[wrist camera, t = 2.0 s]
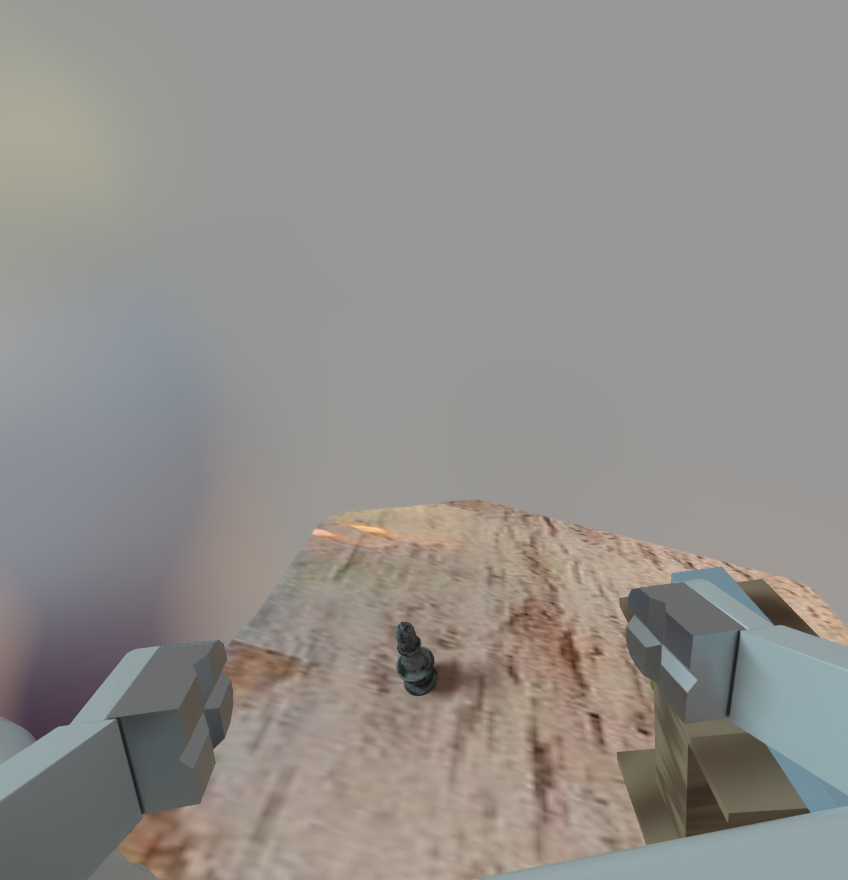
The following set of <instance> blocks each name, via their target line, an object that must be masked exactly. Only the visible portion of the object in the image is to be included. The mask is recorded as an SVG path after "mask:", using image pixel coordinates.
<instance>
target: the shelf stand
mask: <svg viewBox="0 0 848 880" xmlns="http://www.w3.org/2000/svg"><path fill="white" fill-rule="evenodd" d="M736 583H737V584H738V585H739V586H740V587H741V589H742V590H743V591H744V592H745V593H746V594H747V595H748V596H749V598H750V599H751V600H752V601H753V602H754V603H755V604H756V605H757V607H758V608H759V609H760V610H761V611H762V612H763V613H764V614H765V615H766V617H767V618H768V619H769V620H770V621H771V622H772V623H773V624H774V626H778V625H783V626H786V627H789V628H792V629H795V630H798V631H801V632H804V633H807V634H810V635H813V636H816V637H819V636H818V635H817V634H816V633H815V632H814V631H813V630H812V629H811V628H810V627H809V626H808V625H807V624H806V623H805V622H804V621H803V620H802V619H801V618H800V617H799V616H798V615H797V614H796V613H795V612H794V611H793V610H792V608H791V607H790V606H789V605H788V604H787V603H786V602H785V601H784V600H783V599H782V598H781V597H780V596H779V595H778V594H777V593H776V592H775V591H774V590H773V589H772V588H771V587H770V586H769V585H768V584H767V583H766V582H765V581H764V580H763V579H759V580H751V581H744V582H736ZM619 601H620V608H621V610H622V612H623V614H624V616H625V618H626V620H627V622H628V623H629V622H630V620H631V619H632V617H633V616H634V615H633V613H632V612H631V611H630V610H629V608H628V597H623V598H619ZM819 638H820V637H819ZM654 710H655V749H649V750H637V751H625V752H617V760H618V763H619V766H620V769H621V772H622V775H623V778H624V781H625V784H626V787H627V789H628V792H629V795H630V798H631V801H632V804H633V807H634V810H635V813H636V816H637V819H638V822H639V825H640V828H641V831H642V833H643V836H644V839H645V842H646V845H649V844H655V843H660V842H665V841H670V840H675V839H680V838H685V837H690V836H695V835H701V834H706V833H711V832H716V831H721V830H726V829H731V828H736V827H741V826H746V825H752V824H757V823H762V822H767V821H772V820H777V819H782V818H787V817H792V816H798V815H803V814H808V813H811V812H810V811H809V809H808V808H807V806H806V805H805V803H804V802H803V800H802V799H801V797H800V796H799V794H798V793H797V791H796V790H795V788H794V787H793V785H792V783H791V782H790V780H789V779H788V777H787V776H786V774H785V773H784V771H783V770H782V768H781V767H780V765H779V764H778V762H777V761H776V759H775V758H774V756H773V755H772V753H771V751H770V750H769V748H768V747H767V745H766V744H765V743H763V742H762V741H760V740H758V739H757V738H755V737H754V736H752V735H751V734H749V733H747V732H746V731H744V730H743V729H741V728H739V727H738V726H736V725H735V724H733V723H731V722H730V721H729V718H727V719H719V720H712V721H704V722H696V723H689V724H684V723H683V722H682V721H681V720H680V718H679V717H678V716H677V715H676V714H675V712H674V711H673V710H672V709H671V708H670V706H669V705H668V704H667V703H666V702H665V700H664V699H663V698H662V697H661V696H660V695H659V683H657V682H655V681H654Z"/></svg>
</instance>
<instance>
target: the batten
mask: <svg viewBox="0 0 848 880" xmlns="http://www.w3.org/2000/svg"><path fill="white" fill-rule="evenodd" d="M699 578H700V579H704V580H708V581H710V582H711V583H713V584H714V585H715V586H717V587H718V588H720V589H721V590H723V591H724V592H726V593H727V594H729V595H730V596H731V597H733V598H734V599H736V600H737V601H739V602H740V603H742V604H743V605H744V606H746V607H747V608H749V609H750V610H752V611H753V612H755V613H756V614H758V615H759V616H760V617H762V618H763V619H765V620H766V621H768V622H769V623H771V624H772V625H774V624H773V623H772V622H771V621H770V620H769V619H768V618H767V617H766V615H765V614H764V613H763V612H762V611H761V610H760V609H759V608H758V607H757V605H756V604H755V603H754V602H753V601H752V600H751V599H750V598H749V596H748V595H747V594H746V593H745V592H744V591H743V590H742V589H741V587H740V586H739V585H738V584H737V583H736V582H735V581H734V580H733V578H732V577H731V576H730V575H729V574H728V573H727V572H726V571H725V569H724V568H723V567H715V568H708V569H701V570H693V571H686V572H679V573H672V574H671V584H672V583H677V582H680V581H687V580H693V579H699ZM767 747H768V748H769V750H770V751H771V753H772V755H773V756H774V758H775V759H776V761H777V762H778V764H779V765H780V767H781V768H782V770H783V771H784V773H785V774H786V776H787V777H788V779H789V780H790V782H791V783H792V785H793V787H794V788H795V790H796V791H797V793H798V794H799V796H800V797H801V799H802V800H803V802H804V803H805V805H806V806H807V808H808V809H809V811H810V812H811V813H813V812H818V811H823V810H828V809H833V808H838V807H844V806H848V796H847V795H846V794H844V793H843V792H841V791H840V790H838V789H836V788H835V787H833V786H832V785H830V784H828V783H827V782H825V781H824V780H822V779H820V778H819V777H817V776H816V775H814V774H812V773H811V772H809V771H808V770H806V769H805V768H803V767H801V766H800V765H798V764H797V763H795V762H793V761H792V760H790V759H789V758H787V757H785V756H784V755H782V754H781V753H779V752H778V751H776V750H774V749H773V748H771V747H770V746H768V745H767Z"/></svg>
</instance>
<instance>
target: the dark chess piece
mask: <svg viewBox="0 0 848 880" xmlns="http://www.w3.org/2000/svg"><path fill="white" fill-rule="evenodd" d="M395 636H396V639H397V642H398V647H397V649H398V652H399V654H401V656H400V657H399V659H398V661H397V665H396V669H397V673H398V675H399V677H400V678H402V679H403V680H404V687H405V689H406V691H407V692H408V693H410V694H412V695H415V696H420V695H424V694H427V693H428V692H430V691H431V690H432V689H433V688H434V686H435V684H436V682H437V672H436V670H435V668H434V667H433V666H434V656H433V654H432V652H431V651H430V650H429V649H427V648H425V647H420V646H421V640H420V638H419V637H418V636H416V633H415V630H414V627H413V626H412V624H410V623H408V622H401V623H400V624H399V625H398V626H397V628H396V630H395Z"/></svg>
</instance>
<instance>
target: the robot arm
mask: <svg viewBox="0 0 848 880" xmlns="http://www.w3.org/2000/svg"><path fill="white" fill-rule="evenodd" d="M628 608H629V610H630V611H631V612H632V613H633V615H634V616H633V617H632V619H631V620H630V622H629V623H628V624H627V626H626V642H627V646H628V649H629V653H630V656H631V658H632V659H633V661H634V663H635V665H636V666H637V668H638V669H639V670H640V671H641V673H642V674H643V675H644V676H646V677H647V678H649V679H651V680H653V681H655V682H657V683H659V695H660V696H661V697H662V698H663V699H664V700H665V702H666V703H667V704H668V705H669V706H670V708H671V709H672V710H673V711H674V712H675V714H676V715H677V716H678V717H679V718H680V720H681V721H682V722H683V723H684V724H689V723H696V722H704V721H712V720H719V719H727V718H729V721H730V722H731V723H733V724H735V725H736V726H738V727H739V728H741V729H743V730H744V731H746V732H747V733H749V734H751V735H752V736H754V737H755V738H757V739H758V740H760V741H762V742H763V743H765V744H766V745H768V746H770V747H771V748H773V749H774V750H776V751H778V752H779V753H781V754H782V755H784V756H785V757H787V758H789V759H790V760H792V761H793V762H795V763H797V764H798V765H800V766H801V767H803V768H805V769H806V770H808V771H809V772H811V773H812V774H814V775H816V776H817V777H819V778H820V779H822V780H824V781H825V782H827V783H828V784H830V785H832V786H833V787H835V788H836V789H838V790H840V791H841V792H843V793H844V794H846V795H847V796H848V647H846V646H843V645H840V644H837V643H834V642H831V641H828V640H825V639H822V638H819V637H816V636H813V635H810V634H807V633H804V632H801V631H798V630H795V629H792V628H789V627H786V626H783V625H778V626H774V625H772V624H771V623H769V622H768V621H766V620H765V619H763V618H762V617H760V616H759V615H758V614H756V613H755V612H753V611H752V610H750V609H749V608H747V607H746V606H744V605H743V604H742V603H740V602H739V601H737V600H736V599H734V598H733V597H731V596H730V595H729V594H727V593H726V592H724V591H723V590H721V589H720V588H718V587H717V586H715V585H714V584H713V583H711V582H710V581H708V580H704V579H700V578H699V579H693V580H687V581H680V582H677V583H672V584H664V585H657V586H650V587H642V588H635V589H632V590H631V592H630V594H629V596H628ZM226 661H227V656H226V651H225V647H224V644H223V643H222V642H221V641H220V640H214V641H205V642H194V643H185V644H175V645H165V646H157V647H149V648H141V649H135V650H133V651H131V652H129V653H127V654H126V655H125V657H124V658H123V659H122V660H121V662H120V663H119V664H118V665H117V667H116V668H115V669H114V670H113V671H112V673H111V674H110V675H109V676H108V678H107V679H106V680H105V681H104V683H103V684H102V685H101V686H100V688H99V689H98V690H97V691H96V693H95V694H94V695H93V696H92V698H91V699H90V700H89V701H88V703H87V704H86V705H85V706H84V708H83V709H82V710H81V711H80V713H79V714H78V715H77V717H75V719H74V720H73V721H72V722H71V724H70V725H68V726H61V727H58V728H56V729H55V730H53V731H52V732H50V733H48V734H47V735H45V736H44V737H42V738H41V739H39V740H38V741H36V740H35V739H34V738H33V736H32V735H31V734H30V733H29V732H27V731H26V730H25V729H23V728H22V727H20V726H18V725H16V724H14V723H12V722H10V721H9V720H7V719H5V718H2V717H0V880H158V879H157V878H156V877H155V876H154V875H153V874H152V873H151V872H150V870H149V869H148V868H147V867H146V866H144V865H142V864H139V863H131V862H130V861H128V860H127V859H126V858H125V857H124V856H122V855H121V854H120V853H119V852H118V851H117V850H116V847H117V846H118V845H119V844H120V843H121V842H122V841H123V840H124V839H125V837H126V836H127V835H128V834H129V833H130V832H131V831H132V830H133V829H134V827H135V826H136V825H137V824H138V823H139V822H140V821H141V820H142V818H143V817H142V815H144V814H149V813H155V812H160V811H165V810H170V809H175V808H180V807H185V806H190V805H195V804H200V803H201V800H202V797H203V795H204V792H205V789H206V787H207V784H208V782H209V779H210V776H211V774H212V771H213V768H214V766H215V763H216V762H215V757H214V752H213V749H214V748H215V747H216V746H217V745H218V744H219V743H220V742H221V741H222V740H223V739H224V738H225V736H226V734H227V731H228V728H229V725H230V721H231V715H232V709H233V688H232V682H231V679H230V678H229V677H228V676H227V675H225V674H224V673H223V672H222V669H223V667H224V665H225V663H226ZM471 880H848V806H844V807H838V808H833V809H828V810H823V811H818V812H813V813H808V814H803V815H798V816H792V817H787V818H782V819H777V820H772V821H767V822H762V823H757V824H752V825H746V826H741V827H736V828H731V829H726V830H721V831H716V832H711V833H706V834H701V835H695V836H690V837H685V838H680V839H675V840H670V841H665V842H660V843H655V844H649V845H644V846H639V847H634V848H629V849H624V850H619V851H614V852H609V853H604V854H599V855H594V856H588V857H583V858H578V859H573V860H568V861H563V862H558V863H553V864H548V865H543V866H538V867H532V868H527V869H522V870H517V871H512V872H507V873H502V874H497V875H492V876H487V877H482V878H477V879H471Z"/></svg>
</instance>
